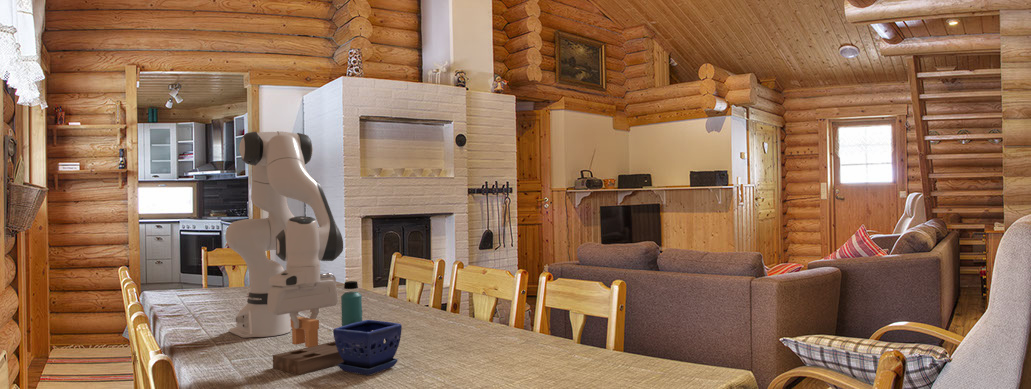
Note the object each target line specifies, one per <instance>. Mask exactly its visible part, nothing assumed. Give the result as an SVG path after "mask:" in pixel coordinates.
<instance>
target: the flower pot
mask: <svg viewBox="0 0 1031 389" xmlns="http://www.w3.org/2000/svg"><path fill="white" fill-rule="evenodd" d="M332 330H333V331H332V332H333V334H332V335H333V340H334V341H335V344H336V347H337V350H338V352H339V354H340V356H341V358H342V359H343V361H344V362H342V363H339V364H338V365H337V366H338V367H339V369H341V371H343V372H348V373H353V374H358V375H361V376H362V375H363V376H371V375H374V374H377V373H381V372H384V371H386V370H389V369H391V368H393V367H394V366H395V365H396V364H397V362H398V358H394V357H395V355H396V353H397V351H398V348H399V346H400V342H401V337H402V324H401V323H398V322H390V321H382V320H373V319H363V320H362V321H360V322H356V323H352V324H349V325H345V326H342V325H340V326H339V327H336V328H334V329H332ZM343 349H344V351H343Z"/></svg>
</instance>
